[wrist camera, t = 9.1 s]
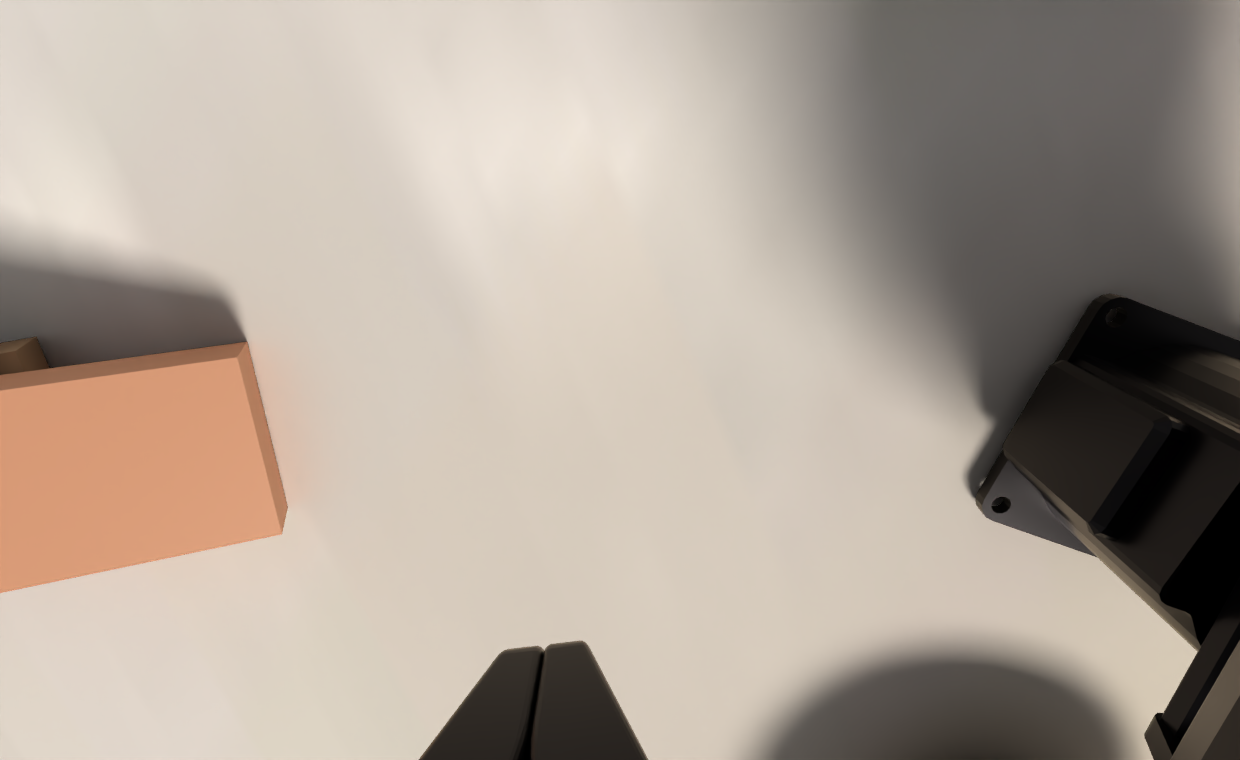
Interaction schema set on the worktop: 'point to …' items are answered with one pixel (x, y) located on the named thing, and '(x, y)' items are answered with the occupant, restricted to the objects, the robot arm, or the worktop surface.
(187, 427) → the terracotta domino
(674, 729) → the worktop surface
